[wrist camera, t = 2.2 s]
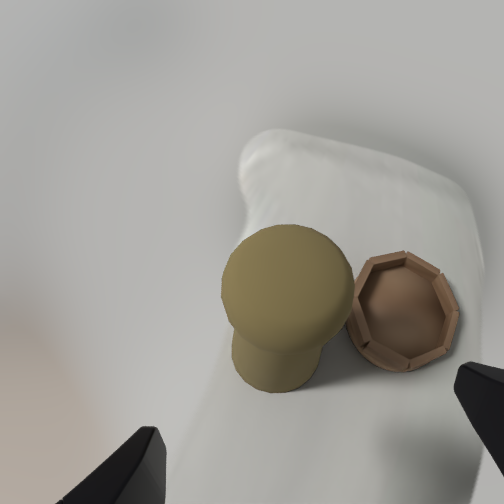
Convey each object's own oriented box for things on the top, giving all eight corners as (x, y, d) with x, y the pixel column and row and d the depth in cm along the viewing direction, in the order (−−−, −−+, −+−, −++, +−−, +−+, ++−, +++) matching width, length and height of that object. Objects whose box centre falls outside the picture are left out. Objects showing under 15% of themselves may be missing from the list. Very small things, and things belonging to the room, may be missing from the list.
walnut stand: (458, 349, 18) (472, 341, 16) (364, 388, 17) (374, 383, 16) (419, 257, 23) (429, 243, 21) (329, 277, 22) (335, 263, 21)
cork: (291, 295, 22) (314, 182, 12) (337, 364, 19) (408, 294, 9) (216, 332, 20) (178, 237, 11) (257, 409, 17) (255, 388, 8)
